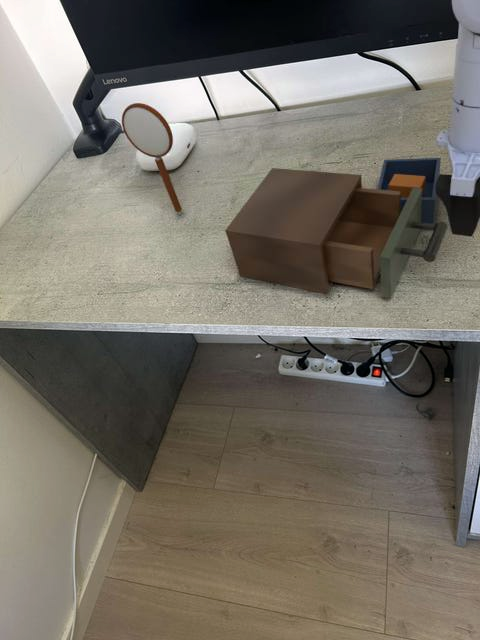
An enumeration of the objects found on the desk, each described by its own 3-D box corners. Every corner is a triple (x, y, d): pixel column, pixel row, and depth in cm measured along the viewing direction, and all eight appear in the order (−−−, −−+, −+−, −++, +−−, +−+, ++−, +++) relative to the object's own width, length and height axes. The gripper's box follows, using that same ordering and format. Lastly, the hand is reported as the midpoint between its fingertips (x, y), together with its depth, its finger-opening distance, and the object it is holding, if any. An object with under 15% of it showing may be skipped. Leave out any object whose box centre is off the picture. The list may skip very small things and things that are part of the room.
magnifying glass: (158, 215, 87) (110, 107, 72) (163, 209, 88) (117, 101, 73) (198, 220, 83) (156, 106, 69) (203, 213, 84) (163, 100, 69)
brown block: (424, 199, 72) (425, 175, 69) (419, 211, 70) (420, 187, 68) (394, 196, 74) (394, 173, 71) (388, 207, 73) (388, 184, 70)
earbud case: (204, 140, 101) (196, 115, 97) (180, 176, 94) (170, 151, 90) (162, 142, 105) (153, 118, 101) (135, 177, 98) (125, 153, 94)
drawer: (452, 234, 65) (456, 191, 60) (424, 305, 59) (427, 264, 54) (334, 219, 73) (330, 180, 68) (298, 280, 66) (291, 242, 61)
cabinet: (364, 225, 72) (361, 174, 66) (327, 294, 65) (320, 245, 58) (282, 214, 78) (272, 167, 72) (240, 276, 71) (224, 230, 65)
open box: (384, 184, 77) (384, 159, 74) (438, 183, 74) (440, 157, 71) (375, 225, 71) (374, 199, 68) (433, 226, 68) (435, 199, 65)
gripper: (459, 58, 51) (449, 172, 61) (419, 133, 44) (415, 248, 53) (536, 56, 47) (513, 176, 57) (507, 136, 40) (486, 258, 50)
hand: (470, 211), depth 55 cm, fingers open, 7 cm apart
